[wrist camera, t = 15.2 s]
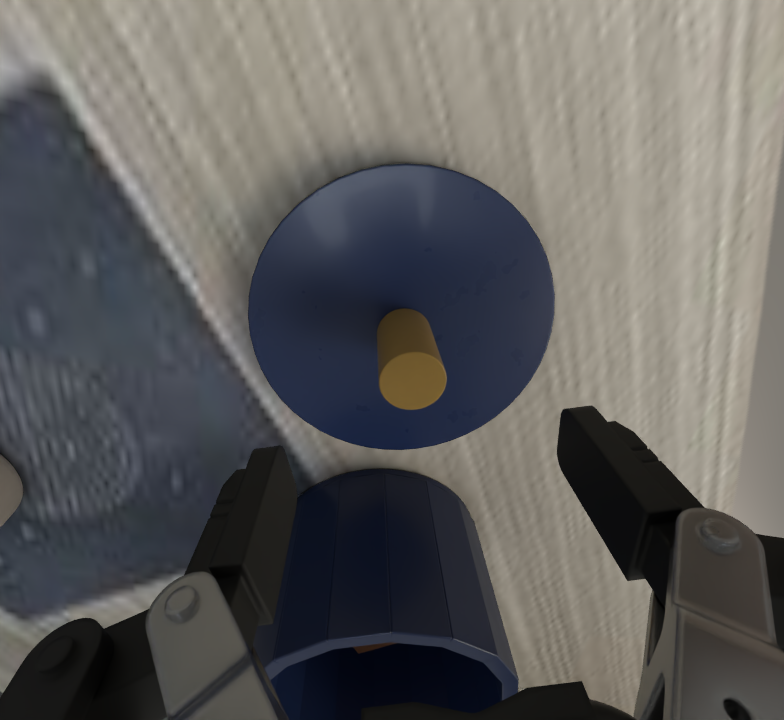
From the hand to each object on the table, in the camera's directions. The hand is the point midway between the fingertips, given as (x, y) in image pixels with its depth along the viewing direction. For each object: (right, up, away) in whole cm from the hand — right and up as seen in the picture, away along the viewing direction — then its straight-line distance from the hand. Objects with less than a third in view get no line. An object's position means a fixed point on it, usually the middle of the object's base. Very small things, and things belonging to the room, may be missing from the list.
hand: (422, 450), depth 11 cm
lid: (0, +4, +8) cm, 9 cm away
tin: (-2, -10, +16) cm, 19 cm away
